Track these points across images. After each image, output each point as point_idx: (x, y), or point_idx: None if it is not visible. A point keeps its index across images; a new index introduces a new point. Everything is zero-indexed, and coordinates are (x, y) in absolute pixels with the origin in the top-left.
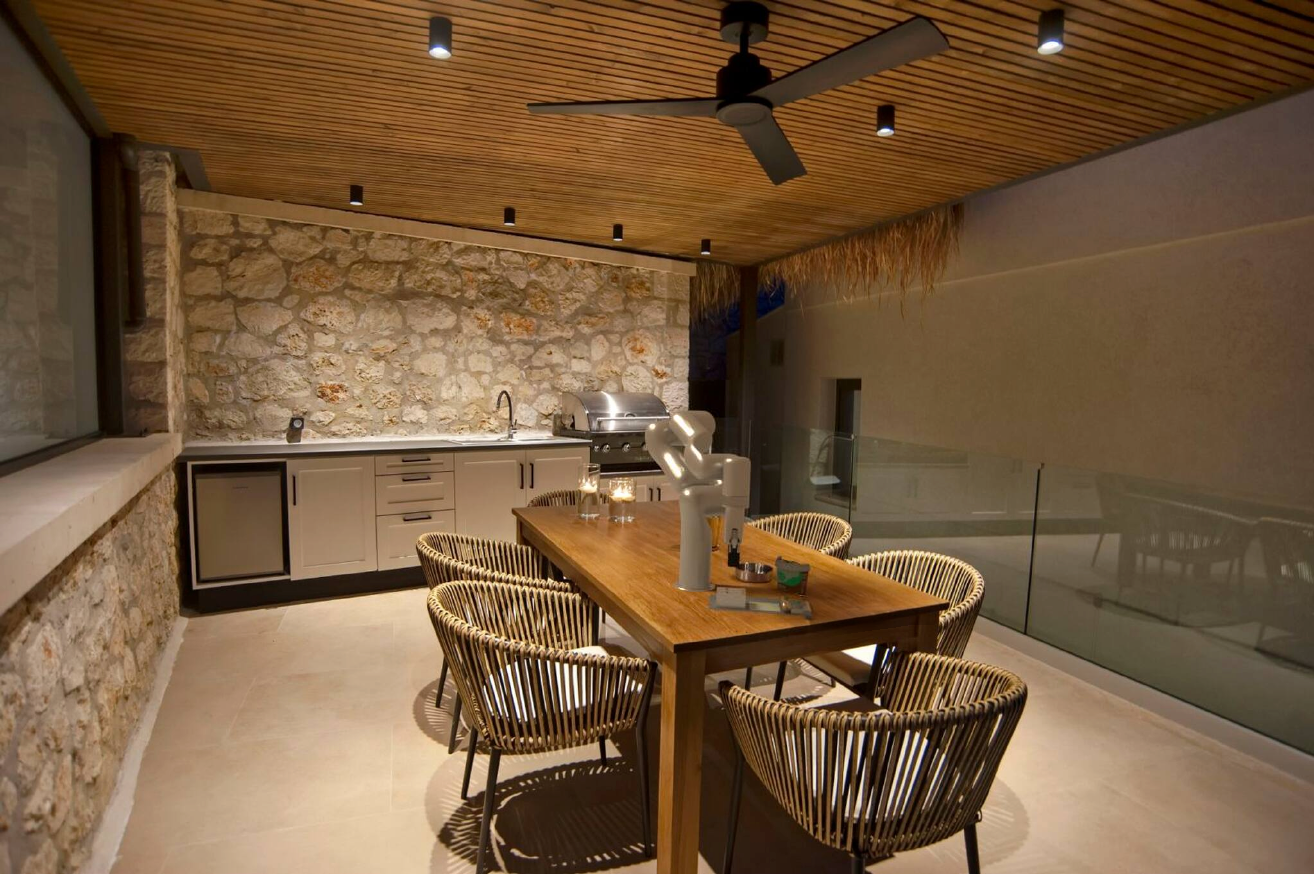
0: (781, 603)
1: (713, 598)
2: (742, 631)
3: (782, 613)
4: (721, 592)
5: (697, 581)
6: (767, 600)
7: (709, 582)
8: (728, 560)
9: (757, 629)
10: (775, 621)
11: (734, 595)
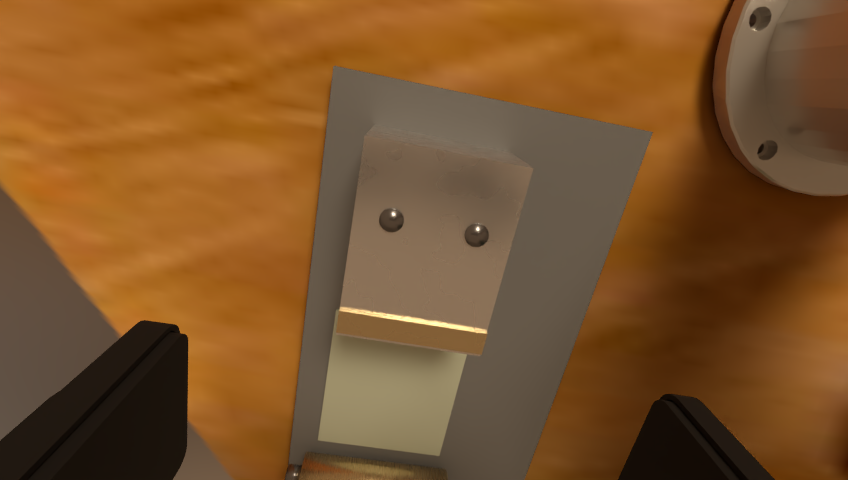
0: (378, 471)
1: (558, 140)
2: (39, 211)
3: (301, 441)
4: (381, 177)
5: (820, 46)
6: (504, 419)
7: (829, 157)
8: (80, 387)
9: (96, 291)
10: (239, 389)
11: (347, 262)
